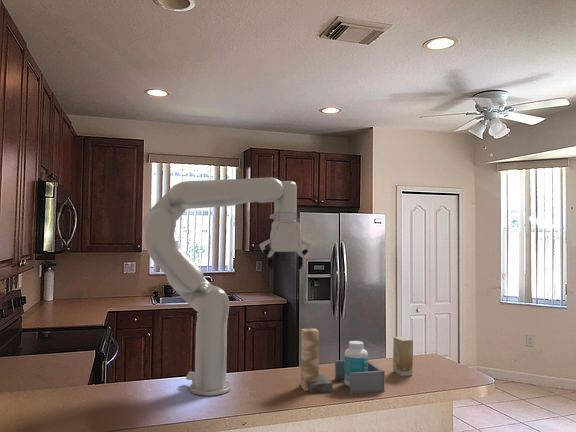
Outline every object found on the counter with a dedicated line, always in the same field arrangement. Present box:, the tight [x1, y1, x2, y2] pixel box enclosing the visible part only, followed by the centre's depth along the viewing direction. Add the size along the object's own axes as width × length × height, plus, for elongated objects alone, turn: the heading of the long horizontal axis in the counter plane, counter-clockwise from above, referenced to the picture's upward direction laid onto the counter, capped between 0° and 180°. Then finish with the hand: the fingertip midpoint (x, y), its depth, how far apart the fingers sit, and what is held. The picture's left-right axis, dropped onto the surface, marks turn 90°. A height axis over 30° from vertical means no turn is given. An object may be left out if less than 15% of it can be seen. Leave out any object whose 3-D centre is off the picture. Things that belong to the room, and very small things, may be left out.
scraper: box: [300, 327, 333, 394], centre depth 148 cm, size 8×9×18 cm
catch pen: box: [334, 359, 385, 394], centre depth 150 cm, size 11×15×6 cm
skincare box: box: [392, 335, 414, 377], centre depth 163 cm, size 6×4×12 cm
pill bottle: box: [343, 340, 369, 387], centre depth 151 cm, size 8×7×14 cm
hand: (284, 269), depth 157 cm, fingers open, 9 cm apart
